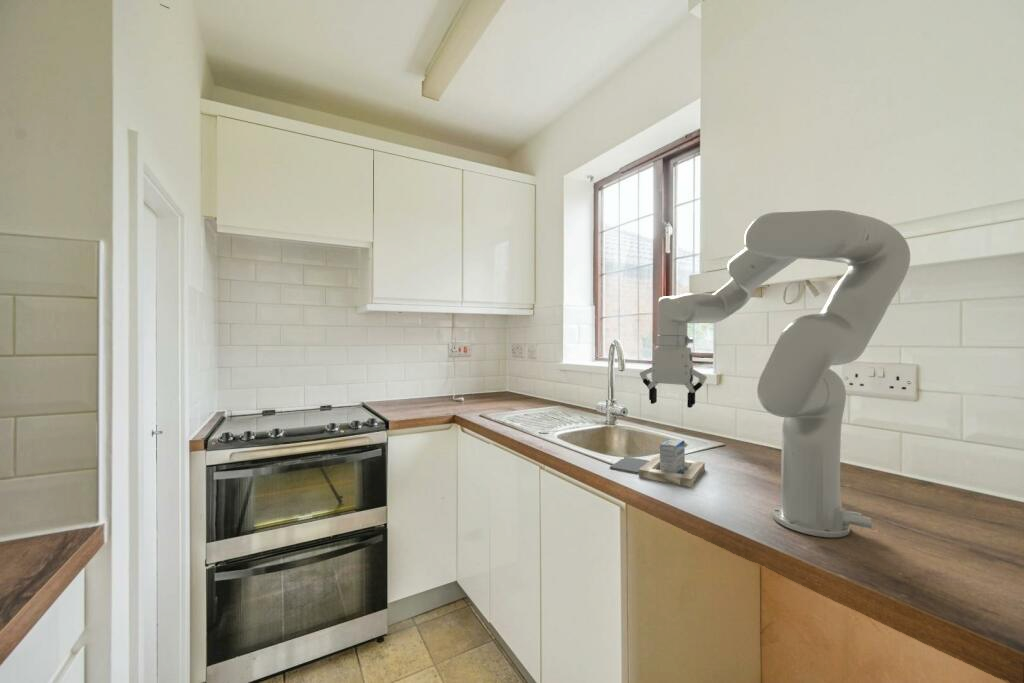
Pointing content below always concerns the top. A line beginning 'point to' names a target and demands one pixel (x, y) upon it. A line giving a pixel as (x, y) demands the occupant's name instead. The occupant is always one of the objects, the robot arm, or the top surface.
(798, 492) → the robot arm
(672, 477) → the pocket board
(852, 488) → the top surface
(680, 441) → the medicine box
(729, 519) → the top surface
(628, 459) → the rubber mat
